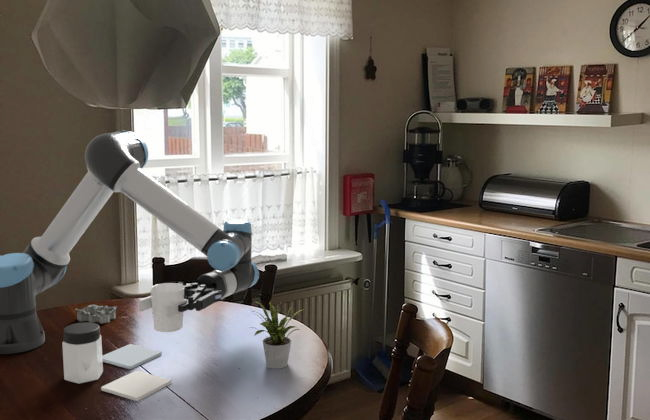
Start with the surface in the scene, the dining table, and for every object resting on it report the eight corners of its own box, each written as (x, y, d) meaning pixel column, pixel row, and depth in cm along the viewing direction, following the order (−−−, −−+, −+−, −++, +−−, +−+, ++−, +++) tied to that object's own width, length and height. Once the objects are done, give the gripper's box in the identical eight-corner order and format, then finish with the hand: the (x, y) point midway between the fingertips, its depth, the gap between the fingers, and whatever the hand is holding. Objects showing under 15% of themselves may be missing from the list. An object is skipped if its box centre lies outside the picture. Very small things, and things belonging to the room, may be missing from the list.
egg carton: (73, 322, 204) (72, 308, 203) (88, 314, 211) (88, 301, 211) (105, 325, 201) (104, 311, 201) (119, 317, 208) (119, 304, 208)
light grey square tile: (98, 360, 175) (98, 357, 175) (130, 346, 184) (130, 343, 184) (130, 369, 170) (130, 366, 170) (161, 354, 179) (161, 351, 179)
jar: (68, 386, 160) (66, 336, 158) (60, 374, 166) (57, 326, 164) (108, 378, 165) (105, 329, 162) (98, 366, 171) (96, 319, 169)
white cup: (171, 319, 173) (170, 280, 171) (191, 327, 168) (191, 287, 166) (144, 327, 167) (143, 287, 165) (165, 335, 162) (164, 294, 160)
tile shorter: (101, 390, 158) (101, 386, 158) (136, 373, 167) (136, 370, 167) (137, 401, 153) (136, 397, 152) (171, 383, 162) (171, 380, 162)
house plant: (231, 365, 172) (230, 302, 170) (268, 349, 183) (267, 289, 181) (275, 380, 164) (275, 313, 161) (311, 362, 175) (311, 299, 172)
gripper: (247, 306, 178) (187, 332, 158) (185, 293, 187) (121, 316, 168) (247, 277, 176) (187, 300, 157) (184, 266, 186) (120, 286, 167)
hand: (153, 308), depth 162 cm, fingers closed on white cup, 8 cm apart
